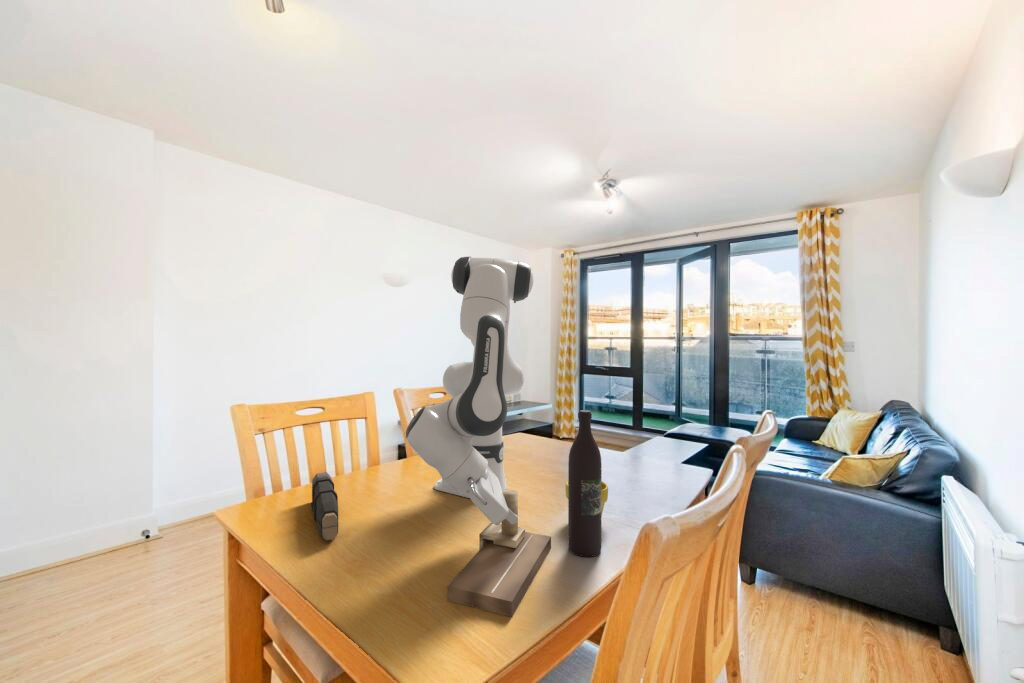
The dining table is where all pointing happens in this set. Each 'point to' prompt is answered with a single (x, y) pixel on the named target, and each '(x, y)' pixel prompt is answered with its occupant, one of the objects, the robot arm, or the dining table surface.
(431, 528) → the dining table surface
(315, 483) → the dark grey segmented bar
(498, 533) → the beige peg stand
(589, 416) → the wine bottle
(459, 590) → the board
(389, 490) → the dining table surface
